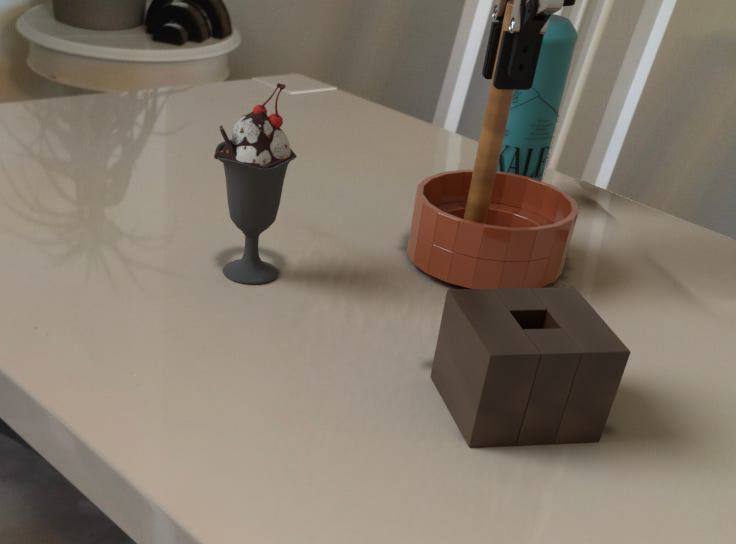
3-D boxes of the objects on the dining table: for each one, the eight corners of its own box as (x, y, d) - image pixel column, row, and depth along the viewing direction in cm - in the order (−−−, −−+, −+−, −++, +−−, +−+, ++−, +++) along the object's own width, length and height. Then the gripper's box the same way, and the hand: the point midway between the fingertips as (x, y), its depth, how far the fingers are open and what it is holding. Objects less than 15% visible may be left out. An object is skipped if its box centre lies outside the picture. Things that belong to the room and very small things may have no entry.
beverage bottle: (502, 183, 106) (550, -36, 92) (551, 203, 103) (608, -22, 89) (462, 195, 103) (506, -31, 89) (511, 215, 100) (564, -16, 86)
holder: (549, 373, 76) (574, 286, 71) (599, 442, 69) (631, 351, 65) (429, 376, 75) (446, 289, 70) (468, 447, 68) (490, 355, 63)
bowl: (528, 233, 97) (543, 169, 92) (583, 297, 87) (603, 229, 82) (389, 234, 95) (399, 169, 90) (430, 300, 85) (443, 230, 80)
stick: (461, 229, 89) (508, -2, 77) (483, 232, 89) (533, 1, 76) (459, 237, 88) (506, 3, 75) (481, 240, 88) (532, 6, 75)
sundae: (301, 269, 88) (316, 83, 77) (263, 295, 83) (274, 103, 73) (238, 250, 90) (245, 68, 79) (198, 275, 86) (200, 86, 75)
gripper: (670, -201, 62) (586, 114, 75) (575, -219, 73) (516, 58, 86) (560, -208, 61) (493, 113, 74) (480, -226, 72) (435, 56, 85)
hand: (506, 81), depth 80 cm, fingers closed on stick, 2 cm apart
